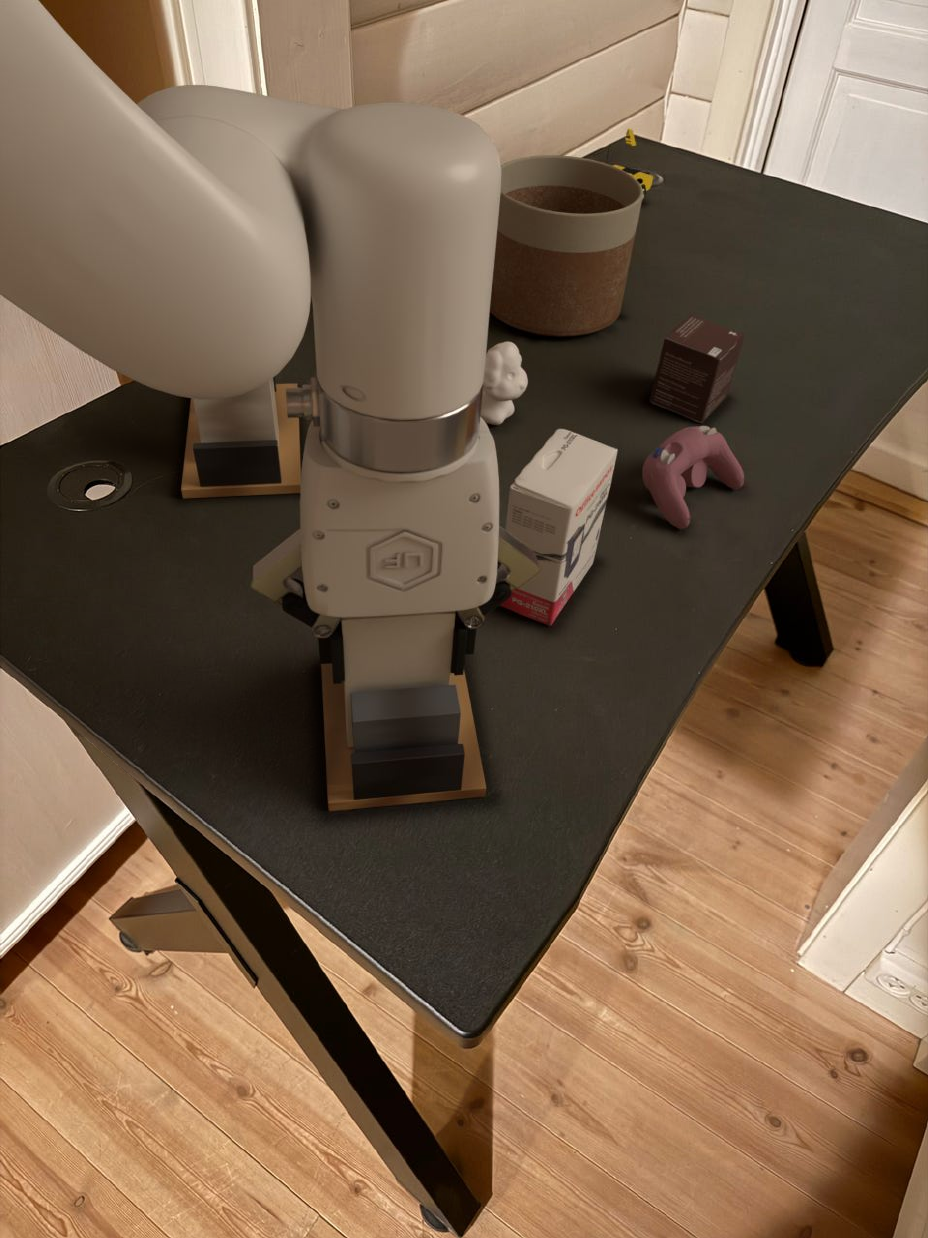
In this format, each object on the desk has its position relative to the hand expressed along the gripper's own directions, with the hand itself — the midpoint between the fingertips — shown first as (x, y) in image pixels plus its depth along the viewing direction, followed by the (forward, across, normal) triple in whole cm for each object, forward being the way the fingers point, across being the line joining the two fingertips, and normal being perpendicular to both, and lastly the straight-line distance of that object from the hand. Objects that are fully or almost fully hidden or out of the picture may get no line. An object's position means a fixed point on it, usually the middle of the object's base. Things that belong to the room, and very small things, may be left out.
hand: (396, 660), depth 55 cm
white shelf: (+8, -11, +35) cm, 38 cm away
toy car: (+8, +38, +88) cm, 96 cm away
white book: (+7, 0, 0) cm, 7 cm away
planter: (+8, +23, +59) cm, 64 cm away
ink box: (+8, +13, +14) cm, 21 cm away
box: (+8, +33, +39) cm, 52 cm away
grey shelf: (+8, 0, +1) cm, 8 cm away
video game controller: (+8, +28, +24) cm, 38 cm away
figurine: (+8, +12, +38) cm, 41 cm away
